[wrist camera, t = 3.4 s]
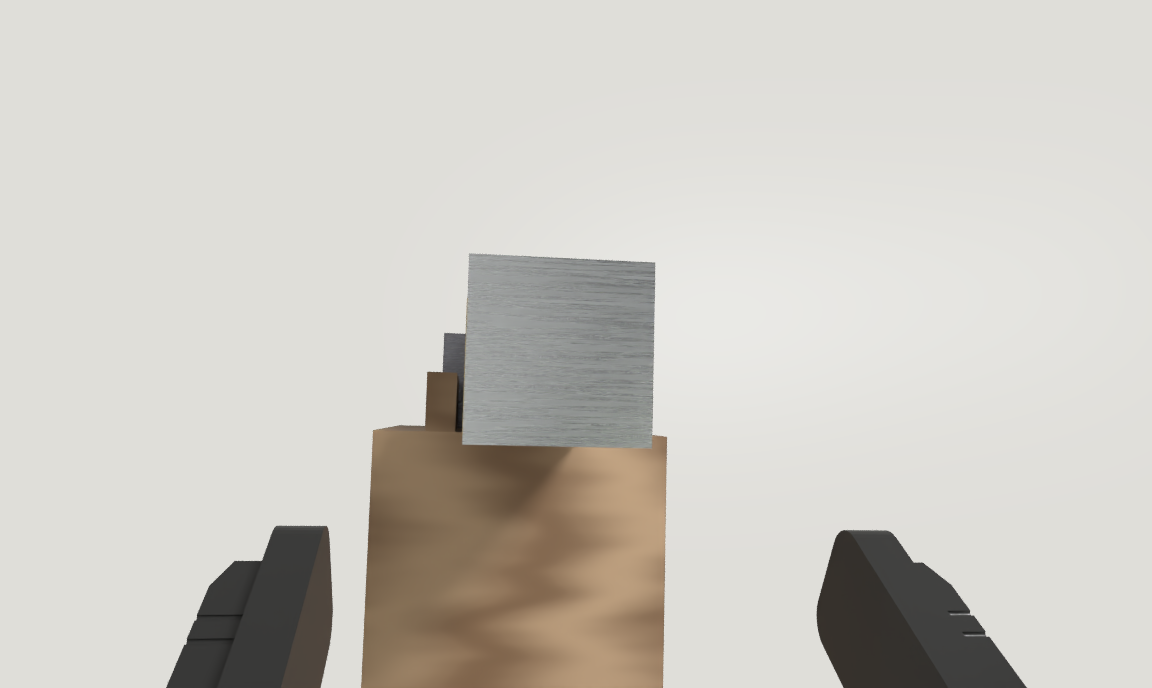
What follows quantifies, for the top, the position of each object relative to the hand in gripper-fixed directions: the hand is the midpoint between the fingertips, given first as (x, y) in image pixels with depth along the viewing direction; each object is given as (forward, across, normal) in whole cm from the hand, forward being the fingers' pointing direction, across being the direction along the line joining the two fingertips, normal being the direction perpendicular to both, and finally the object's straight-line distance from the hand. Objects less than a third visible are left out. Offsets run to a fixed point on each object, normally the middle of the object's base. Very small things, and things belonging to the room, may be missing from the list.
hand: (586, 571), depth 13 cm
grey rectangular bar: (+14, 0, +6) cm, 15 cm away
